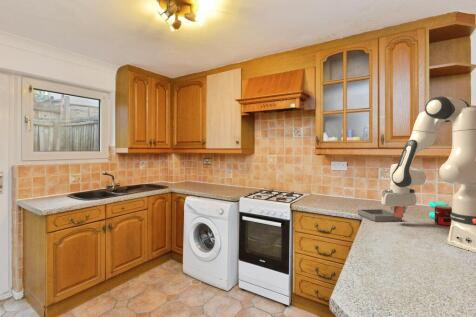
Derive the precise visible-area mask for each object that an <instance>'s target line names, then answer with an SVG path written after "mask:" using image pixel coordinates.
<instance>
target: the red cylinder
mask: <svg viewBox="0 0 476 317" xmlns="http://www.w3.org/2000/svg"><path fill="white" fill-rule="evenodd" d="M394 210H396V213H393V216H394V217H399V218H402V219H403V218H404V213H403V206H394Z"/></svg>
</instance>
